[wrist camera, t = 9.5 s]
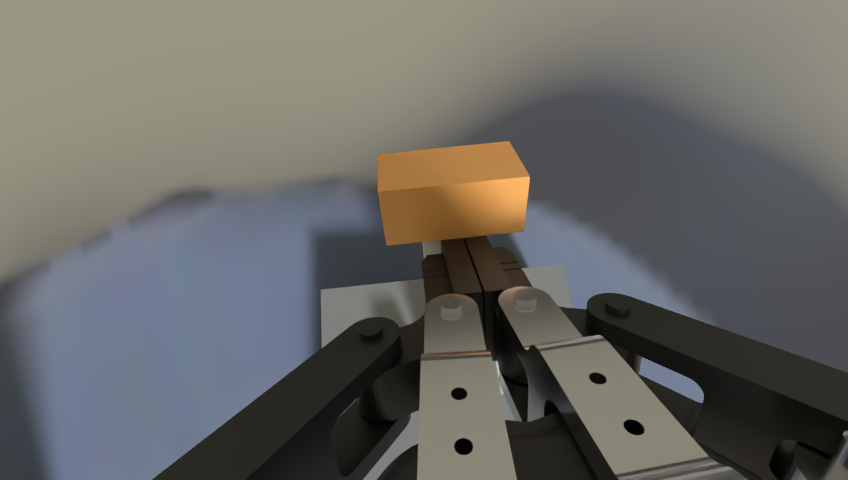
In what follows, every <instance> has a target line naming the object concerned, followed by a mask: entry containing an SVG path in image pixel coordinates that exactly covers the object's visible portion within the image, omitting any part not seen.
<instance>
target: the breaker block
mask: <svg viewBox="0 0 848 480" xmlns="http://www.w3.org/2000/svg"><path fill="white" fill-rule="evenodd" d="M521 269H522V270H523V271H524V273H525V275H526V276H527V278H528V280H529V281H530V283H531V285H532V286H533V288H537V289H540V290H542V291H544V292H546V293H547V294H549V295H550V296H551V298H552V299H553V300H554V301H555V303H556V304H557V305H558V306H560V307H566V308H573V307H572V302H571V298H570V294H569V290H568V285H567V281H566V277H565V273H564V269H563V264H557V265H547V266H538V267H529V268H521ZM425 307H426V303H425V293H424V283H423V279H416V280H407V281H398V282H388V283H379V284H370V285H360V286H351V287H341V288H332V289H323V290H321V335H322V348H323V347H324V346H325V345H327V344H328V343H329V342H330V341H332V340H333V339H334V338H336V337H337V336H338V335H339V334H341V333H342V332H343V331H345V330H346V329H347V328H349V327H350V326H351V325H353V324H354V323H356V322H358V321H360V320H363V319H366V318H371V317H385V318H389V319H391V320H393V321H395V322H396V323H397V324H398V326H399V328H400V327H403V326H406V325H409V324H411V323H413V322H415V321H417V320H418V319H419V318H421V317H422V316H423V314H424V313H425ZM493 366H494V371H495V375H496V380H497V385H498V390H499V395H500V400H501V404H502V409H503V414H504V419H505V420H512V421H515V419H514V417H513V414H512V412H511V410H510V407H509V405H508V403H507V400H506V398H505V395H504V393H503V391H502V388H501V386H500V383H499V365H498V362H497V361H493ZM356 400H357V399H356ZM356 400H355V401H356ZM355 401H354V402H355ZM354 402H353V403H354ZM353 403H352V404H353ZM352 404H351V405H352ZM351 405H350V406H351ZM350 406H349V407H350ZM349 407H348V408H349ZM348 408H347V409H348ZM347 409H346V410H347ZM346 410H345V411H346ZM345 411H344V412H345ZM344 412H343V413H344ZM343 413H342V414H343ZM342 414H341V415H342ZM418 434H419V410H418V411H416V412H413V413H411V418H410V421H409V423H408V425H407V426H406V428H405V429H404V430H403V431H402V433H401V434H400V435H399V436H398V438H397V439H396V440H395V441H394V442H393V444H392V445H391V446H390V447H389V449H388V450H387V451H386V452H385V453H384V455H383V456H382V457H381V458H380V459H379V461H378V462H377V463H376V464H375V466H374V467H373V468H372V469H371V470H370V472H369V473H368V474H367V475H366V477H365V478H364V479H363V480H377V479H378V477H379V476H380V475H381V473H382V472H383V471H384V470H385V469H386V468H387V466H388V465H389V464H390V463H391V462H392V461H393V460H394V459H396V458H397V457H398V456H399V455H400V454H402V453H403V452H404V451H406V450H407V449H409V448H410V447H412V446H414V445H416V444H418Z"/></svg>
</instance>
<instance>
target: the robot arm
mask: <svg viewBox="0 0 848 480" xmlns="http://www.w3.org/2000/svg"><path fill="white" fill-rule="evenodd" d="M422 273H423V283H424V293H425V303H426V307H425V313H424V314H423V316H422V317H421V318H419V319H418V320H417V321H415V322H413V323H411V324H409V325H406V326H403V327H400V328H399V326H398V324H397V323H396V322H395V321H393V320H391V319H389V318H385V317H371V318H366V319H363V320H360V321H358V322H356V323H354V324H353V325H351V326H350V327H349V328H347V329H346V330H345V331H343V332H342V333H341V334H339V335H338V336H337V337H336V338H334V339H333V340H332V341H330V342H329V343H328V344H327V345H325V346H324V347H323V348H321V349H320V350H319V351H318V352H316V353H315V354H314V355H312V356H311V357H310V358H309V359H307V360H306V361H305V362H303V363H302V364H301V365H299V366H298V367H297V368H296V369H294V370H293V371H292V372H290V373H289V374H288V375H287V376H285V377H284V378H283V379H281V380H280V381H279V382H278V383H276V384H275V385H274V386H272V387H271V388H270V389H268V390H267V391H266V392H265V393H263V394H262V395H261V396H259V397H258V398H257V399H256V400H254V401H253V402H252V403H250V404H249V405H248V406H247V407H245V408H244V409H243V410H241V411H240V412H239V413H238V414H236V415H235V416H234V417H232V418H231V419H230V420H228V421H227V422H226V423H225V424H223V425H222V426H221V427H219V428H218V429H217V430H216V431H214V432H213V433H212V434H210V435H209V436H208V437H207V438H205V439H204V440H203V441H201V442H200V443H199V444H198V445H196V446H195V447H194V448H192V449H191V450H190V451H188V452H187V453H186V454H185V455H183V456H182V457H181V458H179V459H178V460H177V461H176V462H174V463H173V464H172V465H170V466H169V467H168V468H167V469H165V470H164V471H163V472H161V473H160V474H159V475H157V476H156V477H155V478H154V479H152V480H363V479H364V478H365V477H366V475H367V474H368V473H369V472H370V470H371V469H372V468H373V467H374V466H375V464H376V463H377V462H378V461H379V459H380V458H381V457H382V456H383V455H384V453H385V452H386V451H387V450H388V449H389V447H390V446H391V445H392V444H393V442H394V441H395V440H396V439H397V438H398V436H399V435H400V434H401V433H402V431H403V430H404V429H405V428H406V426H407V425H408V423H409V421H410V418H411V413H413V412H416V411H418V410H419V434H418V444H416V445H414V446H412V447H410V448H409V449H407V450H406V451H404V452H403V453H402V454H400V455H399V456H398V457H397V458H396V459H394V460H393V461H392V462H391V463H390V464H389V465H388V466H387V468H386V469H385V470H384V471H383V472H382V473H381V475H380V476H379V477H378V479H377V480H848V373H847V372H844V371H841V370H838V369H835V368H832V367H829V366H827V365H824V364H821V363H818V362H815V361H812V360H809V359H806V358H804V357H801V356H798V355H795V354H792V353H790V352H787V351H784V350H781V349H778V348H775V347H772V346H769V345H767V344H764V343H761V342H758V341H755V340H752V339H750V338H747V337H743V336H741V335H738V334H735V333H732V332H730V331H727V330H724V329H721V328H718V327H715V326H712V325H710V324H707V323H704V322H701V321H698V320H695V319H692V318H690V317H687V316H684V315H681V314H678V313H675V312H673V311H670V310H667V309H664V308H661V307H658V306H655V305H653V304H650V303H647V302H644V301H641V300H638V299H635V298H633V297H630V296H626V295H622V294H616V293H603V294H598V295H595V296H593V297H591V298H590V299H589V300H588V302H587V309H576V308H566V307H560V306H558V305H557V304H556V303H555V301H554V300H553V299H552V298H551V296H550V295H549V294H547V293H546V292H544V291H542V290H540V289H537V288H533V286H532V285H531V283H530V281H529V280H528V278H527V276H526V275H525V273H524V271H523V270H522V269H521V266H520V265H519V263H518V262H517V260H516V258H515V256H514V255H513V253H511V252H510V251H508V250H506V249H505V248H503V247H499V248H492V247H491V245H490V243H489V241H488V239H487V237H486V235H485V236H476V237H466V238H456V239H447V240H441V254H431V255H427V256H426V257H425V259H424V260H423V261H422ZM642 357H644V358H646V359H648V360H650V361H653V362H655V363H657V364H659V365H662V366H664V367H666V368H668V369H671V370H673V371H675V372H677V373H680V374H682V375H684V376H686V377H688V378H690V379H692V380H693V381H695V382H696V383H697V384H698V385H699V386H700V387H701V389H702V391H703V393H704V401H703V403H699V402H696V401H694V400H692V399H690V398H687V397H685V396H683V395H681V394H679V393H677V392H675V391H673V390H671V389H669V388H667V387H664V386H662V385H660V384H658V383H656V382H654V381H652V380H650V379H648V378H646V377H644V376H641V375H639V370H640V364H641V359H642ZM493 361H497V362H498V365H499V383H500V386H501V388H502V391H503V393H504V395H505V398H506V400H507V403H508V405H509V407H510V410H511V412H512V414H513V417H514V419H515V421H512V420H505V419H504V414H503V409H502V404H501V400H500V395H499V390H498V385H497V380H496V375H495V371H494V366H493ZM356 399H357V400H356ZM355 400H356V401H355ZM354 401H355V402H354ZM353 402H354V403H353ZM352 403H353V404H352ZM351 404H352V405H351ZM350 405H351V406H350ZM349 406H350V407H349ZM348 407H349V408H348ZM347 408H348V409H347ZM346 409H347V410H346ZM345 410H346V411H345ZM344 411H345V412H344ZM343 412H344V413H343ZM342 413H343V414H342ZM341 414H342V415H341Z"/></svg>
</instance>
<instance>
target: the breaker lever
mask: <svg viewBox="0 0 848 480" xmlns="http://www.w3.org/2000/svg"><path fill="white" fill-rule="evenodd" d="M529 180H530V176H529V174H528V172H527V171H526V169H525V167H524V166H523V164H522V162H521V161H520V159H519V157H518V156H517V154H516V152H515V151H514V149H513V147H512V146H511V144H510V142H509V141H507V142H497V143H488V144H487V143H486V144H476V145H466V146H456V147H446V148H436V149H426V150H416V151H405V152H395V153H385V154H379V155H378V197H379V203H380V209H381V215H382V222H383V228H384V234H385V240H386V246H390V245H399V244H409V243H418V242H422V243H423V254H424V259H425V257H426V256H427V255H431V254H441V240H447V239H456V238H466V237H476V236H485V235H495V234H504V233H514V232H524V224H525V215H526V207H527V198H528V189H529Z"/></svg>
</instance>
